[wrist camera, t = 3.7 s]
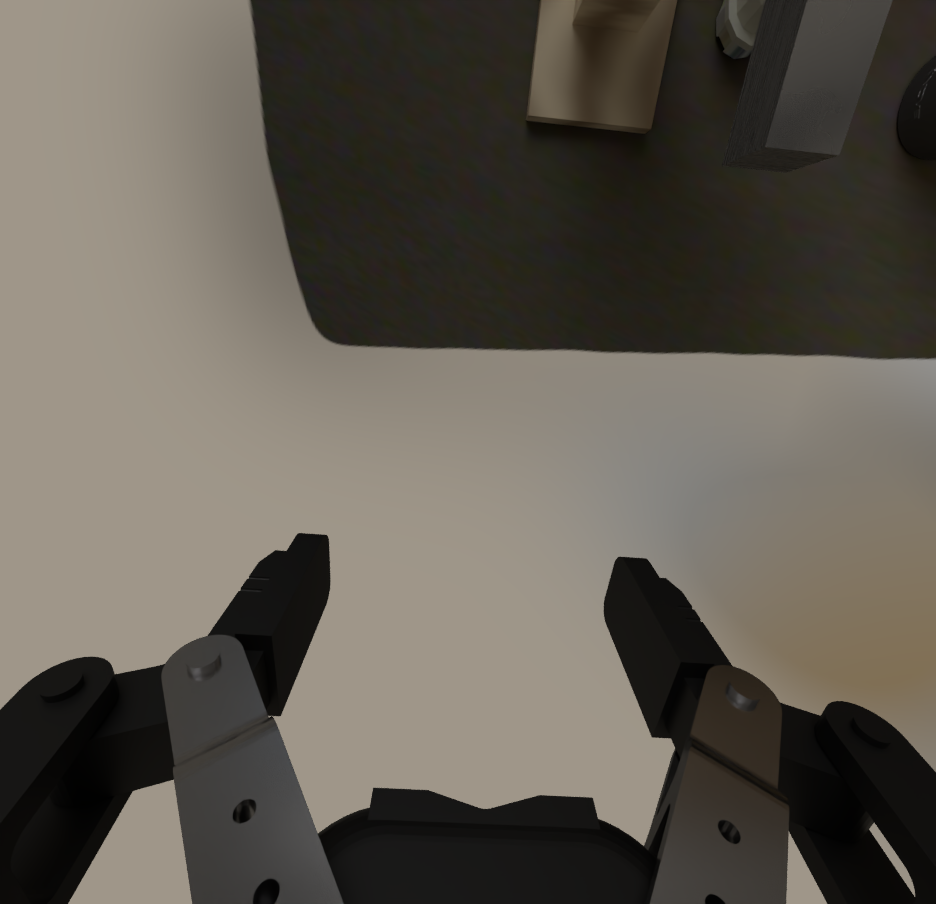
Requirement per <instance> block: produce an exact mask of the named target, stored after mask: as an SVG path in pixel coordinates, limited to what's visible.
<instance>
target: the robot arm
mask: <svg viewBox="0 0 936 904" xmlns="http://www.w3.org/2000/svg"><path fill="white" fill-rule="evenodd" d="M898 133H899V137H900V140H901V143H902V144H903V146H904V147H905V149H906V150H907V151H908V152H909V153H910V154H912V155H913V156H915V157H918V158H920V159H927V160H932V159H936V56H935V57H934V58H932V59H931V60H930V61H929V62H928V63H927V64H925V65H924V66H923V68H922V69H921V70H920V71H919V72H918V73H917V74H916V76H915V77H914V79H913V80H912V82H911V83H910V85H909V86H908V88H907V91H906V93H905V95H904V97H903V99H902V103H901V106H900V110H899V116H898ZM329 560H330V557H329V539H328V536H327V535H319V534H305V533H304V534H303V533H299V534H297V535H296V537H295V539H294V540H293V542H292V543H291V545H290V546H289V548H288V550H287V551H277V550H275V551H274V552H273V553H271V554H270V555H268V556H267V557H266V558H264V559H263V560H261V561H260V562H259V563H258V564H257V566H256V567H255V569H254V570H253V571H252V573H251V574H250V576H249V579H247V580H246V582H245V583H244V584H243V586H242V587H241V591H238V593H237V594H236V596H235V597H234V599H233V600H232V601H231V603H230V604H229V606H228V607H227V609H226V610H225V612H224V613H223V614H222V616H221V617H220V619H219V620H218V621H217V623H216V624H215V626H214V627H213V629H212V630H211V632H210V633H209V634H208V636H206V637H203V638H199V639H196V640H194V641H192V642H190V643H188V644H186V645H184V646H183V647H181V648H180V649H179V650H178V651H176V652H175V653H174V654H173V655H172V656H171V657H170V658H169V660H168V661H167V662H166V664H163V665H160V666H156V667H151V668H146V669H141V670H135V671H131V672H125V673H120V674H114V671H113V668H112V665H111V664H110V663H109V662H108V661H107V660H105V659H103V658H99V657H82V658H76V659H73V660H69V661H66V662H63V663H60V664H58V665H56V666H53V667H51V668H50V669H48V670H46V671H44V672H42V673H40V674H39V675H37V676H36V677H34V678H33V679H32V680H30V681H29V682H28V683H27V684H26V685H24V686H23V687H22V688H21V689H20V690H19V691H18V692H17V693H16V694H15V695H14V696H13V697H12V699H10V700H9V702H7V703H6V705H4V707H3V708H2V709H1V710H0V904H68V902H69V901H70V899H71V897H72V896H73V894H74V892H75V891H76V889H77V887H78V885H79V884H80V882H81V880H82V878H83V877H84V875H85V873H86V871H87V870H88V868H89V866H90V864H91V862H92V861H93V859H94V857H95V856H96V854H97V852H98V851H99V849H100V847H101V845H102V844H103V842H104V840H105V838H106V837H107V835H108V833H109V831H110V830H111V828H112V826H113V824H114V823H115V821H116V819H117V818H118V816H119V814H120V812H121V810H122V809H123V807H124V805H125V804H126V802H127V800H128V798H129V797H130V795H131V793H132V791H134V790H137V789H141V788H144V787H148V786H152V785H156V784H159V783H163V782H166V781H170V780H174V783H175V790H176V796H177V803H178V810H179V816H180V824H181V830H182V837H183V844H184V850H185V857H186V864H187V871H188V878H189V884H190V891H191V897H192V904H786V890H787V861H788V831H789V832H790V834H791V836H792V838H793V840H794V842H795V844H796V845H797V847H798V849H799V851H800V853H801V855H802V857H803V859H804V860H805V862H806V864H807V866H808V868H809V870H810V872H811V874H812V875H813V877H814V879H815V881H816V883H817V885H818V887H819V889H820V890H821V892H822V894H823V896H824V898H825V900H826V902H827V904H936V772H935V771H934V770H933V769H932V768H931V766H929V764H928V763H927V762H926V761H925V760H924V759H923V757H921V755H920V754H919V753H918V752H917V751H916V750H915V748H914V747H913V746H912V745H911V744H910V743H909V742H908V741H907V739H905V737H904V736H903V735H902V734H901V733H900V732H899V731H897V729H895V728H894V727H893V726H892V725H891V724H889V723H888V722H887V721H885V720H884V719H882V718H881V717H879V716H878V715H876V714H874V713H873V712H871V711H869V710H867V709H865V708H863V707H861V706H858V705H855V704H852V703H849V702H843V701H836V702H831V703H830V704H828V705H827V706H826V708H825V710H824V711H823V713H822V715H821V716H819V715H816V714H813V713H810V712H807V711H804V710H801V709H797V708H795V707H791V706H788V705H785V704H782V703H780V702H779V701H778V699H777V697H776V696H775V694H774V693H773V692H772V691H771V690H770V688H768V687H767V686H766V685H765V684H764V683H763V682H762V681H760V680H759V679H758V678H756V677H755V676H753V675H752V674H750V673H748V672H746V671H744V670H742V669H739V668H736V667H733V666H732V665H731V663H730V662H729V660H728V659H727V657H726V656H725V654H724V653H723V651H722V650H721V648H720V647H719V645H718V644H717V642H716V641H715V640H714V638H713V637H712V635H711V634H710V632H709V631H708V629H707V628H706V626H705V625H704V623H703V622H701V621H700V618H699V616H698V615H697V613H696V612H695V610H692V606H691V604H690V603H689V602H688V600H687V598H686V597H685V595H684V594H683V593H682V591H680V590H679V589H678V588H677V587H675V586H674V585H673V584H672V583H671V582H670V581H668V580H667V579H666V578H659V576H658V574H657V573H656V571H655V570H654V568H653V567H652V565H651V563H650V562H649V561H648V560H647V559H644V558H630V557H618V558H617V559H616V561H615V563H614V567H613V571H612V574H611V578H610V582H609V585H608V589H607V593H606V596H605V600H604V617H605V622H606V625H607V627H608V629H609V632H610V635H611V637H612V640H613V642H614V644H615V647H616V649H617V652H618V654H619V657H620V659H621V662H622V664H623V667H624V669H625V672H626V674H627V676H628V679H629V681H630V684H631V686H632V689H633V691H634V694H635V696H636V699H637V701H638V704H639V706H640V709H641V711H642V714H643V716H644V719H645V721H646V724H647V726H648V728H649V731H650V733H651V736H652V737H656V738H657V737H658V738H671V739H672V741H673V744H674V746H675V751H674V753H673V755H672V758H671V761H670V764H669V768H668V771H667V774H666V778H665V781H664V785H663V788H662V791H661V795H660V798H659V801H658V804H657V808H656V811H655V815H654V818H653V821H652V825H651V828H650V831H649V834H648V837H647V840H646V842H645V845H644V846H643V845H641V844H640V843H639V842H638V841H636V840H635V839H634V838H633V837H631V836H630V835H628V834H627V833H625V832H623V831H622V830H620V829H619V828H617V827H615V826H613V825H611V824H609V823H607V822H605V821H602V820H599V819H598V817H597V813H596V810H595V805H594V801H593V798H586V797H565V796H544V795H543V796H542V795H540V796H536V797H532V798H528V799H524V800H521V801H517V802H513V803H509V804H506V805H502V806H498V807H495V808H491V809H481V808H478V807H474V806H471V805H469V804H466V803H463V802H460V801H457V800H455V799H451V798H449V797H446V796H443V795H440V794H437V793H435V792H432V791H429V790H411V789H389V788H373V792H372V798H371V804H370V808H367V809H363V810H359V811H357V812H354V813H352V814H350V815H347V816H345V817H343V818H341V819H339V820H338V821H336V822H334V823H332V824H331V825H329V826H328V827H326V828H325V829H324V830H322V831H321V832H320V833H317V831H316V828H315V825H314V823H313V820H312V818H311V815H310V812H309V809H308V807H307V804H306V801H305V799H304V796H303V794H302V791H301V788H300V785H299V783H298V780H297V777H296V775H295V772H294V769H293V767H292V764H291V762H290V759H289V756H288V753H287V750H286V748H285V745H284V742H283V740H282V737H281V735H280V732H279V729H278V727H277V724H276V722H275V720H274V718H273V717H270V718H269V717H268V716H281V714H282V711H283V709H284V707H285V704H286V702H287V699H288V697H289V694H290V692H291V689H292V687H293V684H294V682H295V680H296V677H297V675H298V672H299V670H300V667H301V665H302V663H303V660H304V658H305V655H306V653H307V650H308V648H309V645H310V643H311V641H312V638H313V636H314V633H315V630H316V628H317V626H318V623H319V621H320V619H321V616H322V614H323V611H324V609H325V606H326V604H327V600H328V596H329V591H330V561H329ZM874 822H875V824H876V825H877V827H878V828H879V830H880V831H881V833H882V834H883V835H884V837H885V838H886V840H887V841H888V842H889V844H890V845H891V846H892V848H893V850H894V851H895V852H896V854H897V855H898V857H899V858H900V860H901V861H902V863H903V864H904V866H905V867H906V869H907V871H908V873H909V875H910V877H911V879H912V882H913V885H914V889H915V897H914V895H913V894H912V892H911V891H910V889H909V888H908V887H907V885H906V883H905V882H904V880H903V879H902V877H901V876H900V875H899V873H898V872H897V870H896V869H895V867H894V866H893V864H892V863H891V861H890V860H889V858H888V857H887V855H886V854H885V852H884V851H883V849H882V848H881V846H880V845H879V844H878V842H877V841H876V839H875V838H874V836H873V835H872V833H871V832H870V830H869V828H870V827H871V826H872V824H873V823H874Z"/></svg>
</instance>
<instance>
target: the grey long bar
mask: <svg viewBox="0 0 936 904" xmlns="http://www.w3.org/2000/svg"><path fill="white" fill-rule="evenodd" d="M891 3H892V0H765V2H764V6H763V10H762V13H761V17H760V21H759V25H758V29H757V33H756V36H755V40H754V44H753V48H752V52H751V56H750V60H749V63H748V67H747V71H746V75H745V79H744V83H743V87H742V90H741V94H740V98H739V102H738V106H737V110H736V113H735V117H734V121H733V125H732V129H731V133H730V137H729V140H728V144H727V148H726V152H725V156H724V160H723V163H722V166H728V167H738V168H747V169H756V170H765V171H774V172H783V173H787V172H790V171H793V170H796V169H799V168H802V167H805V166H808V165H811V164H814V163H817V162H821V161H824V160H827V159H830V158H833V157H836V156H839V155H840V152H841V149H842V146H843V143H844V140H845V137H846V135H847V132H848V129H849V126H850V123H851V120H852V117H853V114H854V111H855V108H856V105H857V102H858V100H859V97H860V94H861V91H862V88H863V85H864V82H865V79H866V76H867V73H868V70H869V67H870V65H871V62H872V59H873V56H874V53H875V50H876V47H877V44H878V41H879V38H880V35H881V32H882V30H883V27H884V24H885V21H886V18H887V15H888V12H889V9H890V6H891Z"/></svg>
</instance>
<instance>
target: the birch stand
mask: <svg viewBox="0 0 936 904" xmlns="http://www.w3.org/2000/svg"><path fill="white" fill-rule="evenodd" d="M676 4H677V0H540V2H539V11H538V20H537V29H536V37H535V46H534V55H533V64H532V73H531V81H530V90H529V99H528V108H527V117H526V121H534V122H543V123H552V124H561V125H570V126H579V127H588V128H597V129H606V130H615V131H624V132H633V133H642V134H646V133H647V132H648V131H649V130H651V127H652V122H653V117H654V112H655V108H656V103H657V98H658V93H659V88H660V83H661V78H662V73H663V68H664V63H665V58H666V53H667V48H668V43H669V39H670V34H671V29H672V24H673V19H674V14H675V9H676Z"/></svg>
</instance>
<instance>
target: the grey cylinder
mask: <svg viewBox="0 0 936 904" xmlns="http://www.w3.org/2000/svg"><path fill="white" fill-rule="evenodd" d="M764 2H765V0H724V2H723V4H722V7H721V9H720V12H719V15H718V16H717V18H716V37H718V36H719V37H720V40H721V42H722V44H723V47H724V51H723V52H724V53H725V54H727V55H728V56H730V57H731V58H733V59H738V58H744V57H748V56H749V55H750V54H751V52H752V48H753V44H754V40H755V36H756V33H757V29H758V25H759V21H760V17H761V13H762V10H763V6H764Z"/></svg>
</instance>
